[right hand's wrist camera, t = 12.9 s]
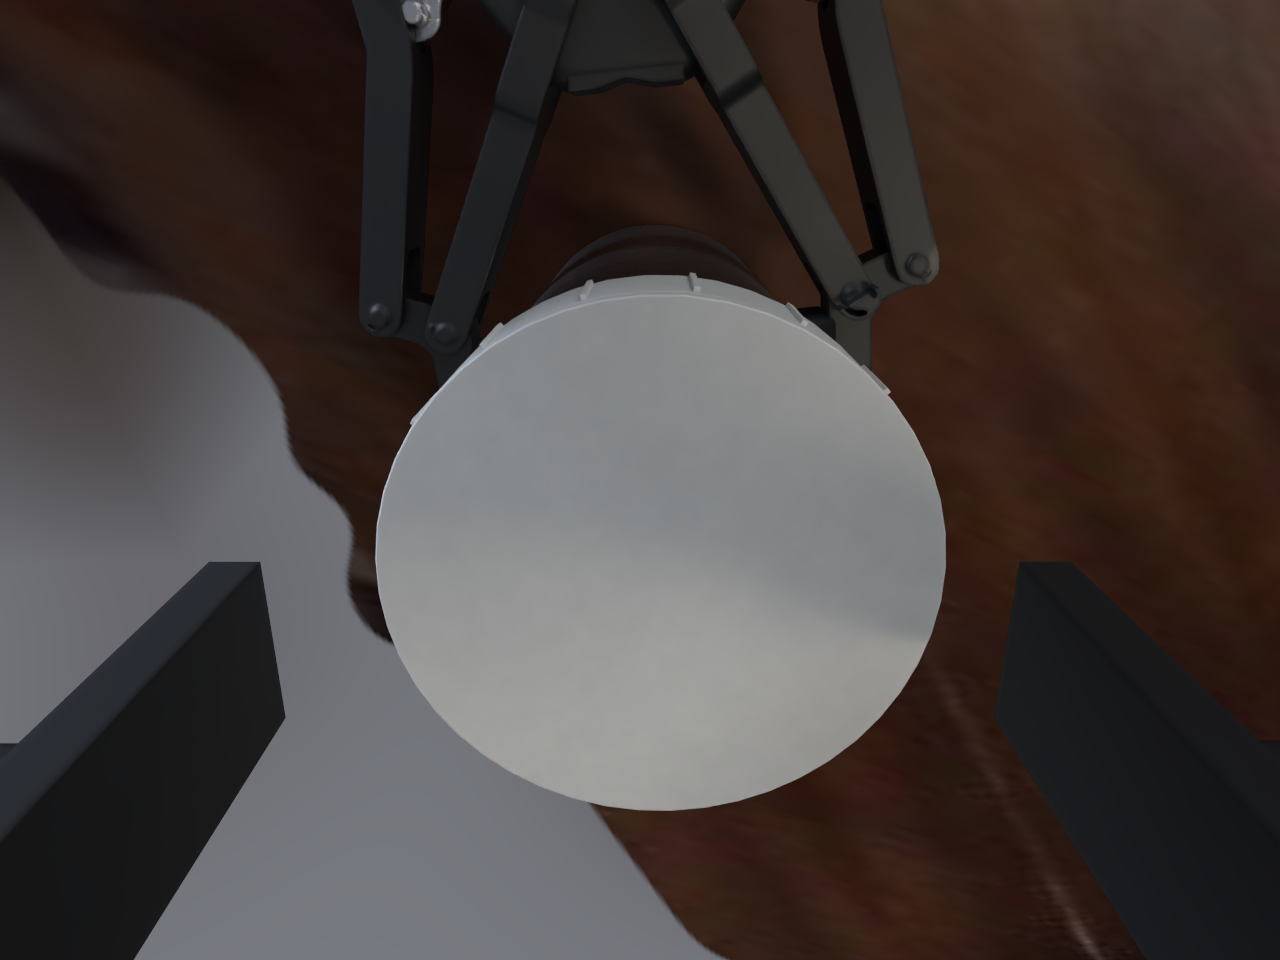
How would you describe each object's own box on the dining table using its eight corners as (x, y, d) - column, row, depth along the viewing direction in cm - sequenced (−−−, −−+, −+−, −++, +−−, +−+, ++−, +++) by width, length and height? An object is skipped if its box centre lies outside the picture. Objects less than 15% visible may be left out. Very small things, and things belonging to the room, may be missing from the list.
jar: (517, 437, 35) (378, 734, 17) (557, 200, 32) (438, 260, 14) (742, 482, 36) (835, 816, 18) (803, 253, 32) (989, 377, 15)
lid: (380, 691, 19) (344, 763, 17) (440, 216, 16) (405, 227, 13) (828, 773, 20) (851, 853, 17) (979, 333, 16) (1032, 362, 14)
